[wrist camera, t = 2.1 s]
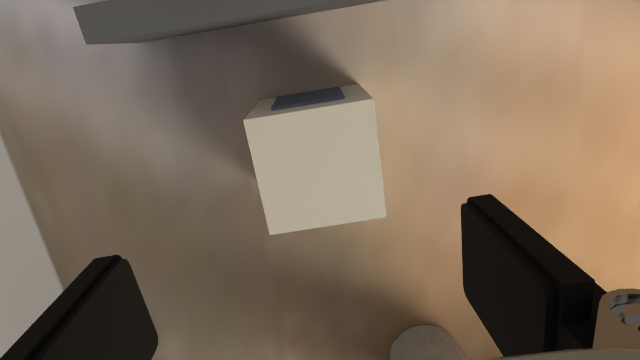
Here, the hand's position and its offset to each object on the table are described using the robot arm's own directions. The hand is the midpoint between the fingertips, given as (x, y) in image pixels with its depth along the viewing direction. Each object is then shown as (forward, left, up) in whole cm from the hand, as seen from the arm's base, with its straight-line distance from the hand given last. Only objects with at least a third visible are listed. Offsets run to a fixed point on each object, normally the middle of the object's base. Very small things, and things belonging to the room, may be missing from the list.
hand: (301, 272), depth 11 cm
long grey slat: (+4, -7, -14) cm, 16 cm away
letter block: (0, 0, -14) cm, 14 cm away
